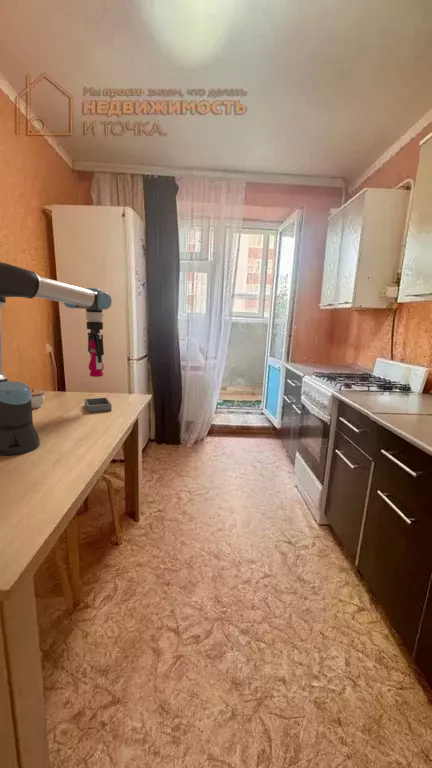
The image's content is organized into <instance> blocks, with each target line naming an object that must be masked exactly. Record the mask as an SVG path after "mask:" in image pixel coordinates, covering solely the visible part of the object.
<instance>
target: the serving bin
mask: <svg viewBox="0 0 432 768" xmlns="http://www.w3.org/2000/svg"><path fill="white" fill-rule="evenodd" d="M84 407H85V409H86V411H87V413H88V414H94V413H103V412H104V413H105V412H112V409H113V408H112V403H111V402H110V400H109V399H108V397H97V398H96V397H95V398H84Z"/></svg>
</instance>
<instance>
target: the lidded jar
mask: <svg viewBox="0 0 432 768" xmlns="http://www.w3.org/2000/svg"><path fill="white" fill-rule="evenodd" d="M30 392H31V396H32V397H31V404H32V409H38V408H41V406H42V405H43V404H44V402H45V399H46V397H45V395H46V392H45V390H42V389H34V388H31V389H30Z"/></svg>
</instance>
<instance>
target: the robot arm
mask: <svg viewBox="0 0 432 768" xmlns="http://www.w3.org/2000/svg"><path fill="white" fill-rule="evenodd" d="M7 298H23V299H24V298H25V299H30V300H31V299H34V298H40V299H45V300H50V301H53V302H59V303H62V304H63V305H64V307H66V308H68V309H81V310H82V309H85V318H86V319H85V320H86V329H87V330H90V331H89V332H87V351H88V353H89V362H90V361H91V356H92V354H91V350H90V349H91V347H90V346H89V342H90V340H92V339H93V342H95V348H96V354H97V355H95V356H96V369H102V362H103V356H104V354H105V352H104V339H103V338H104V335H103V334H102V333H101V331H102V330H103V329H104V322H102V321H103V320H104V319H103V317H104V314H103V310H108V309H110V307H111V306H112V302H113V301H112V297H111V295H110V293H108V292H106V291H102V289H100V288H93V287H81V286H77V285H73V284H70V283H67V282H62V281H59V280H55V279H51V278H47V277H45V276H40V275H38V273H36V272H35V271H32V270H30V269H26V268H23V267H19V266H16V265H13V264H11V263H6V262H3V261H0V456H14V455H15V456H16V455H20V454H25V453H28V452H29V453H30V452H31V451H33V450H35V449H37V448H39V447H40V444H41V441H40V437H39V435H38V433H37V430H36V429H35V426H34V422H33V408H32V404H31V397H32V396H31V392H30V390H31V388H30V386H29V385H28V384H26V383H23V382H20V381H12V380H10V381H9V380H8V376H7V375H5V374H4V372H3V340H2V339H3V338H2V337H3V336H2V331H3V330H2V308H3V307H4V306H5V305H6V304H7ZM100 330H101V331H100Z"/></svg>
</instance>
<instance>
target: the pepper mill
mask: <svg viewBox="0 0 432 768" xmlns="http://www.w3.org/2000/svg"><path fill="white" fill-rule="evenodd" d="M89 346H90V347H91V349H90V350H91V354H92V356H91V361H90V360H89V363H88V369H89V371H90V372H89V376H90V377H94V378H99V377H103V376H104V372H103V370H104V369H105V365H104V363H103V361H102V369H96V356H95V355H97V354H96V348H95V342H93V339H92V340H90V342H89Z"/></svg>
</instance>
